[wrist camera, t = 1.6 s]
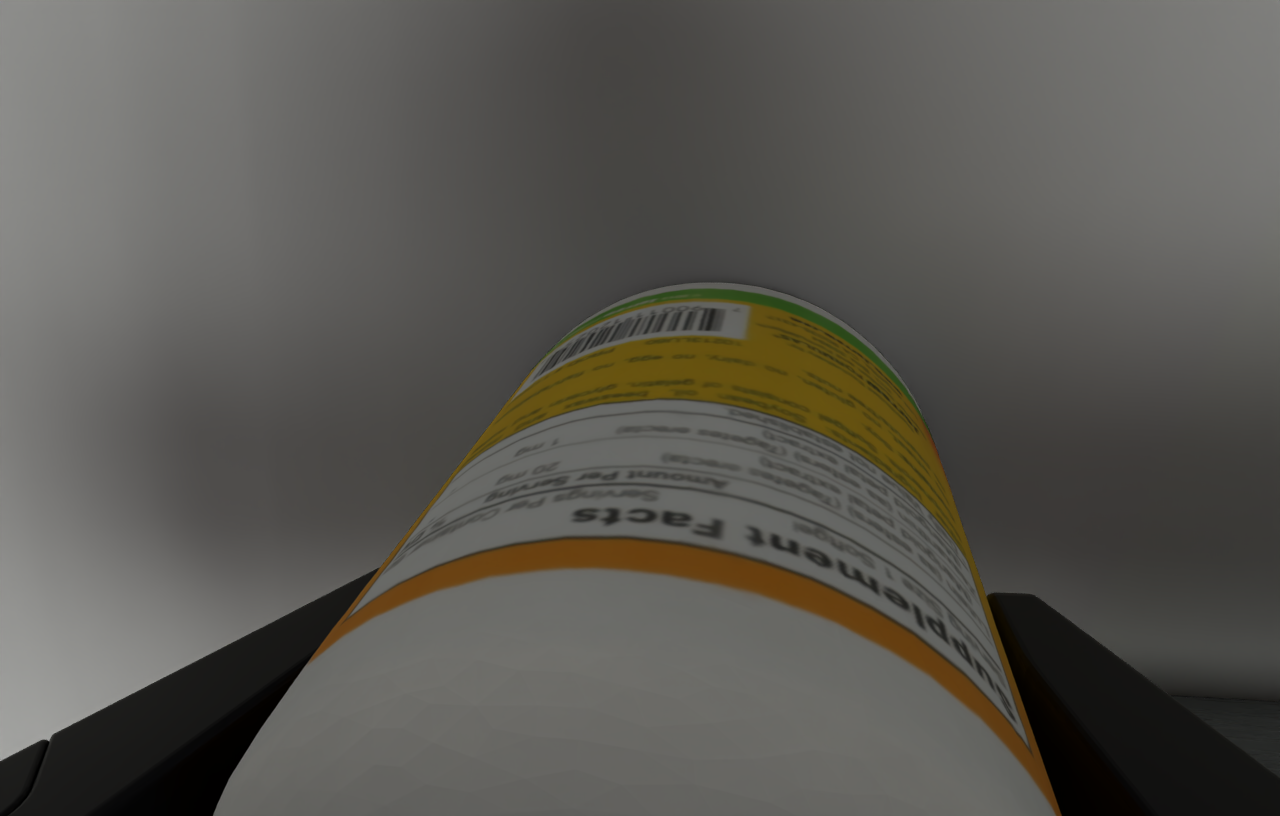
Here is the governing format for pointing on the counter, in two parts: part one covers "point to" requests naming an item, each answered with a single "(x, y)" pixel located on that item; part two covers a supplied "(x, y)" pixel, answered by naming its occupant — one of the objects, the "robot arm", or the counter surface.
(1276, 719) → the grey square tray
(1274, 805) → the robot arm
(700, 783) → the supplement bottle
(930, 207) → the counter surface
